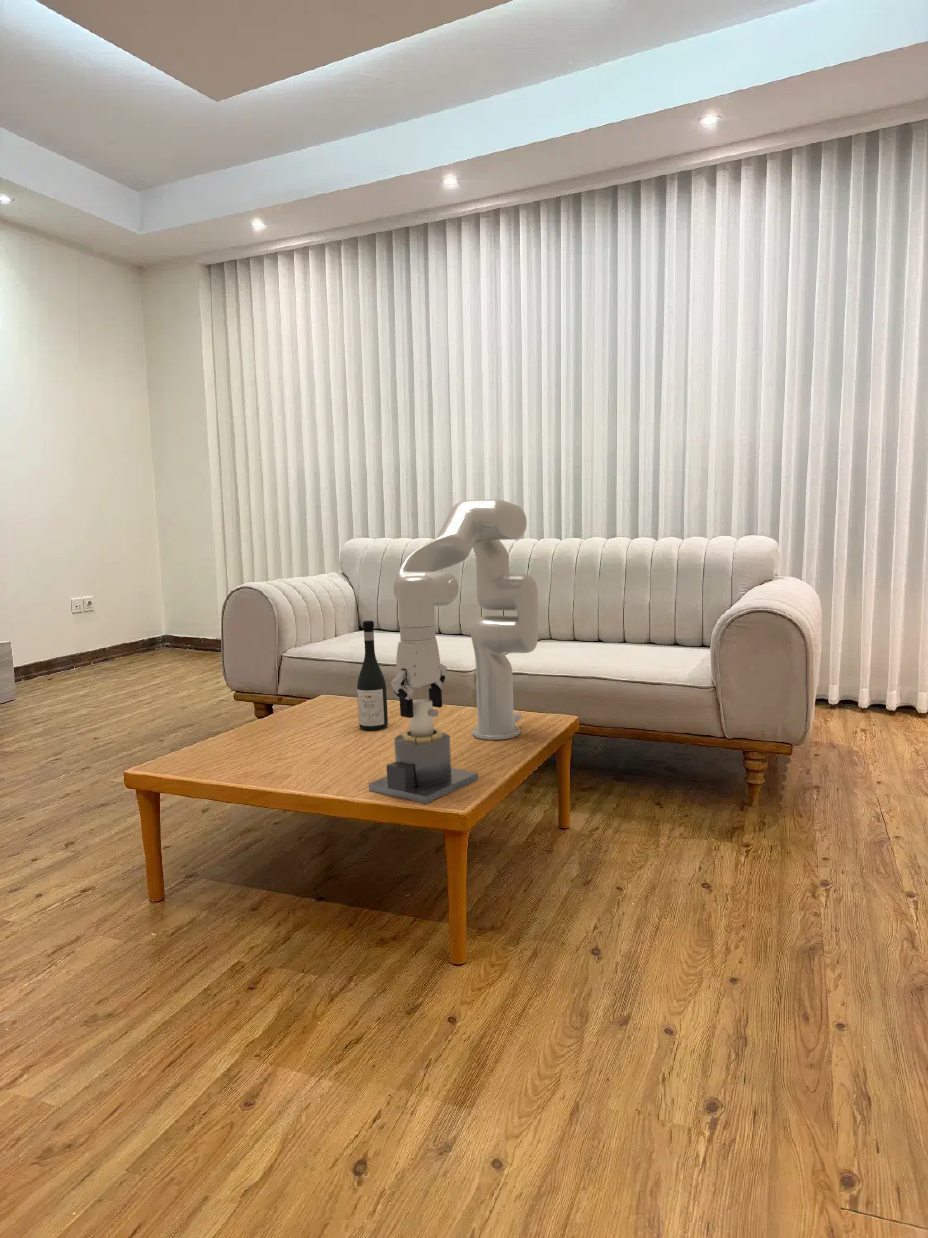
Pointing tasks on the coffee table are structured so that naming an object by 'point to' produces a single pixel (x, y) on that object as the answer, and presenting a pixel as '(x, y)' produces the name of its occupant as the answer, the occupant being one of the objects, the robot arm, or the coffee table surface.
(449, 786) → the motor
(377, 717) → the wine bottle
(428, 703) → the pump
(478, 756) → the coffee table surface
